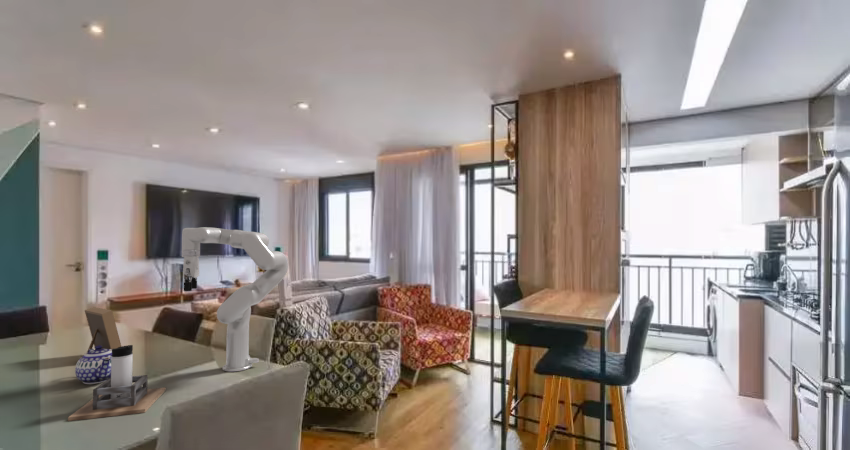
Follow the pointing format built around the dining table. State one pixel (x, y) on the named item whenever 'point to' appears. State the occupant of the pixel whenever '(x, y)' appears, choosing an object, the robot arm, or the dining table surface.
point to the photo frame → (102, 328)
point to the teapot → (94, 366)
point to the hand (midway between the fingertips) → (190, 289)
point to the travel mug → (121, 369)
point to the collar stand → (119, 400)
